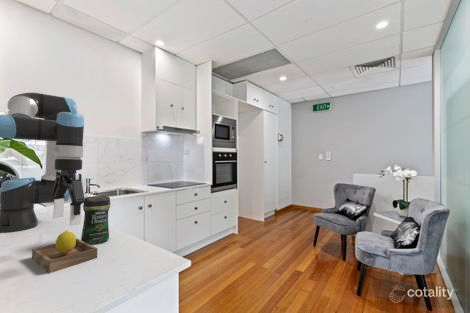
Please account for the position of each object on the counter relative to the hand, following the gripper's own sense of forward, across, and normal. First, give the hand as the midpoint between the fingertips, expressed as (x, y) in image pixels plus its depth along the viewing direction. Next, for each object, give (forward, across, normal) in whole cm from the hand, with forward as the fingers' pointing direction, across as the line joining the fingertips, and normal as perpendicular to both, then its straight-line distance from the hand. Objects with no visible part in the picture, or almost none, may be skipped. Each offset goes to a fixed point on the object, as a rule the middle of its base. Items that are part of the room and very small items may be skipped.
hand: (66, 221), depth 76 cm
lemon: (+11, 0, 0) cm, 11 cm away
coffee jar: (+13, -8, +13) cm, 20 cm away
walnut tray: (+12, 0, 0) cm, 12 cm away
